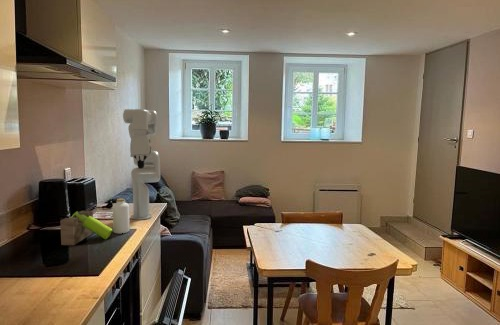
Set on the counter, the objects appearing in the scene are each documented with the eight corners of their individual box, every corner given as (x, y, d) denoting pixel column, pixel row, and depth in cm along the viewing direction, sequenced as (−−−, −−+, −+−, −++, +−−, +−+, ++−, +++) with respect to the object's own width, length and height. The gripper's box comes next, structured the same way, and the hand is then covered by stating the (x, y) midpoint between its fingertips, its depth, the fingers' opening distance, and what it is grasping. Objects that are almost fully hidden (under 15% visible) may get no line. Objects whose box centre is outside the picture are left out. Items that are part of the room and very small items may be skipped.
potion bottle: (132, 230, 198) (131, 198, 196) (125, 234, 190) (124, 201, 188) (117, 229, 199) (116, 197, 197) (110, 234, 191) (109, 200, 189)
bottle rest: (82, 232, 192) (81, 210, 191) (93, 233, 192) (92, 211, 191) (61, 245, 172) (60, 220, 171) (73, 245, 172) (72, 220, 171)
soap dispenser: (103, 243, 180) (68, 222, 179) (111, 233, 186) (77, 213, 185) (105, 236, 176) (70, 215, 176) (113, 227, 182) (79, 206, 181)
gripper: (156, 133, 190) (157, 167, 192) (128, 133, 191) (129, 167, 192) (152, 133, 183) (152, 169, 184) (123, 133, 183) (124, 169, 185)
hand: (141, 168), depth 188 cm, fingers closed
